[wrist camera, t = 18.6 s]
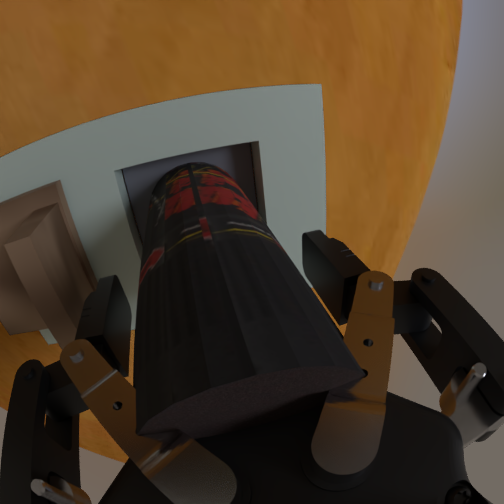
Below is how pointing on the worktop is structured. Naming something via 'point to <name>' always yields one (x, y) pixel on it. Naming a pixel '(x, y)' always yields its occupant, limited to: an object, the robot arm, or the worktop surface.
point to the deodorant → (225, 315)
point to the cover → (42, 265)
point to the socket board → (178, 153)
